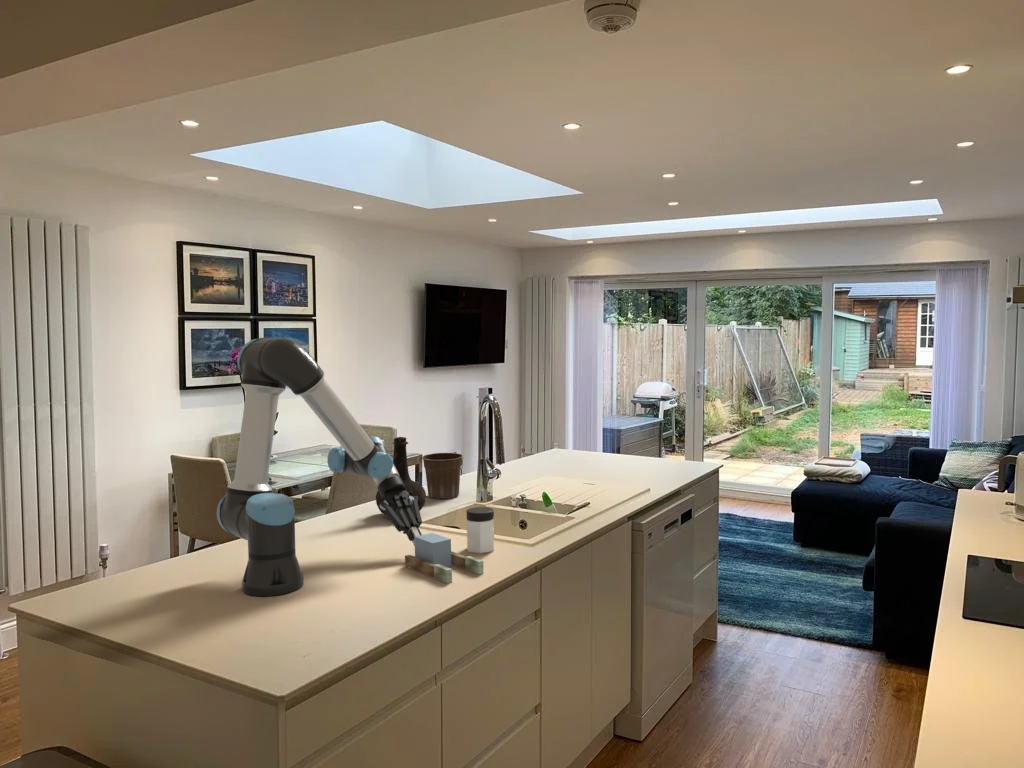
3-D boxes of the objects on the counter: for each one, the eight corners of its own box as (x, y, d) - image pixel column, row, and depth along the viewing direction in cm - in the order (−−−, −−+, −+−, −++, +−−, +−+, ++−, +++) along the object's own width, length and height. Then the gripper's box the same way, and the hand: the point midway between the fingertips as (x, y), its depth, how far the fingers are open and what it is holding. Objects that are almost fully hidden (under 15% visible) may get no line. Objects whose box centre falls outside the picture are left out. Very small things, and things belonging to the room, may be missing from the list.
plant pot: (446, 502, 292) (446, 460, 291) (414, 498, 301) (413, 457, 300) (472, 494, 306) (471, 454, 304) (440, 490, 314) (439, 451, 313)
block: (415, 564, 215) (414, 536, 215) (432, 560, 219) (432, 532, 219) (433, 572, 209) (433, 543, 208) (451, 567, 212) (450, 539, 212)
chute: (405, 566, 214) (404, 553, 213) (440, 557, 222) (440, 545, 221) (447, 583, 199) (447, 570, 198) (483, 573, 206) (483, 560, 206)
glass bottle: (386, 524, 260) (384, 442, 258) (369, 513, 276) (367, 436, 274) (434, 517, 269) (433, 438, 267) (415, 507, 285) (413, 432, 283)
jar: (494, 553, 225) (494, 513, 224) (466, 554, 224) (466, 513, 224) (494, 545, 234) (493, 506, 233) (467, 545, 233) (466, 506, 233)
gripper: (402, 486, 237) (434, 551, 226) (365, 492, 228) (396, 560, 217) (411, 471, 233) (444, 537, 221) (374, 477, 224) (406, 546, 213)
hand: (421, 548), depth 219 cm, fingers closed
